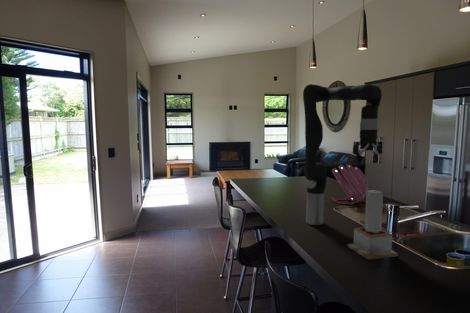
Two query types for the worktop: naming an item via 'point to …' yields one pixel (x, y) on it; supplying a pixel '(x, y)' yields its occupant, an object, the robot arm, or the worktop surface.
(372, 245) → the sleeve
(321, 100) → the robot arm
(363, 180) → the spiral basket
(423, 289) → the worktop surface
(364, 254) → the base board
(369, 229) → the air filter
